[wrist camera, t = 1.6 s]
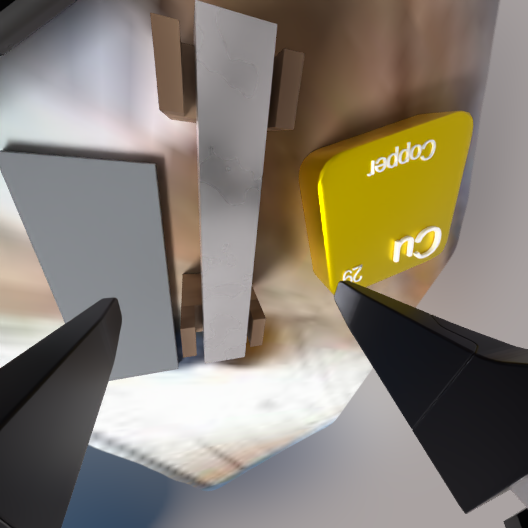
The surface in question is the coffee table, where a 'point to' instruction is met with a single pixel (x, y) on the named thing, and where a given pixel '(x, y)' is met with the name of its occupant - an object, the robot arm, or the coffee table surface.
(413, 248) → the element tile
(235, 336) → the steel rail
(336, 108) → the coffee table surface
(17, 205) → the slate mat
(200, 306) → the hook posts
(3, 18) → the game console
